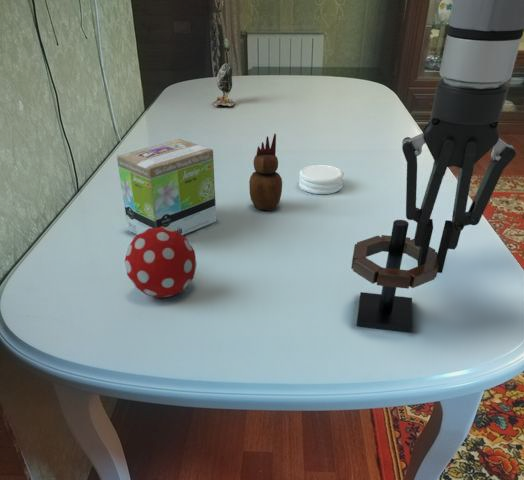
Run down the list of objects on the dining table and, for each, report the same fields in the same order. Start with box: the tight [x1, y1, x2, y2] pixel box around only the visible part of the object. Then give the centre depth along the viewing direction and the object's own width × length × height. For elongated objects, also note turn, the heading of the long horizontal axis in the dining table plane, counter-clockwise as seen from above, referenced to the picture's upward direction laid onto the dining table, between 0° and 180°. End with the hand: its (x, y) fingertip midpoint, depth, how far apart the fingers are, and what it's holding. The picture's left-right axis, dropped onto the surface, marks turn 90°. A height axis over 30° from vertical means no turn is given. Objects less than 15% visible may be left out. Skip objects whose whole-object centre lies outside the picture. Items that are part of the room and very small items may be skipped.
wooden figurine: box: [248, 133, 283, 211], centre depth 103 cm, size 7×6×15 cm
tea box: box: [116, 138, 217, 236], centre depth 96 cm, size 15×10×15 cm, turn 137°
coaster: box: [298, 164, 344, 195], centre depth 116 cm, size 10×10×4 cm
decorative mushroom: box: [124, 227, 197, 299], centre depth 82 cm, size 11×11×15 cm
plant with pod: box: [212, 37, 236, 107], centre depth 169 cm, size 8×11×20 cm
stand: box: [355, 219, 414, 333], centre depth 73 cm, size 8×8×15 cm
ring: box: [350, 234, 439, 290], centre depth 71 cm, size 12×12×2 cm
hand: (429, 266), depth 71 cm, fingers closed on ring, 2 cm apart
